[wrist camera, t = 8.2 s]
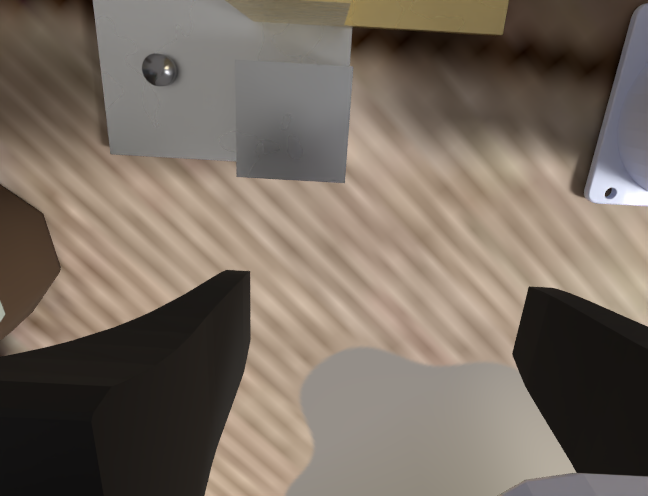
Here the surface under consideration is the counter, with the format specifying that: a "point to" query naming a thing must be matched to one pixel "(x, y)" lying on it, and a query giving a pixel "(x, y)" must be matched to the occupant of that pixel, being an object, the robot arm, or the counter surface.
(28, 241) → the beer bottle
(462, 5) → the pale gold block
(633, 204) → the robot arm
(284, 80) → the fixed leaf
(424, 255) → the counter surface
